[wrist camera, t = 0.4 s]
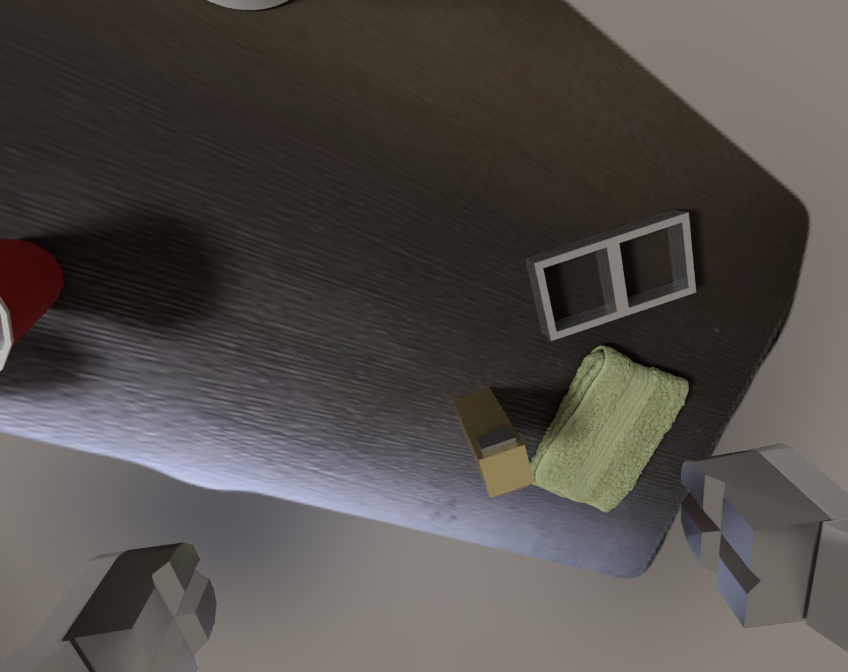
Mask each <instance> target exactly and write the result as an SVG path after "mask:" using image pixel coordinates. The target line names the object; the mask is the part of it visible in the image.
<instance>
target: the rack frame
mask: <svg viewBox="0 0 848 672" xmlns="http://www.w3.org/2000/svg"><path fill="white" fill-rule="evenodd" d="M666 227H667V232H668V241H669V250H670V259H671V268H672V277H673V282H671V283H668V284H665V285H662V286H659V287H656V288H653V289H650V290H647V291H644V292H641V293H638V294H635V295H632V296H629V297H627V292H626V286H625V279H624V272H623V266H622V259H621V252H620V245H619V243H621V242H624V241H627V240H630V239H633V238H636V237H639V236H642V235H645V234H648V233H651V232H654V231H657V230H660V229H663V228H666ZM594 251H596V256H597V262H598V268H599V274H600V280H601V286H602V292H603V298H604V304H605V305H602V306H599V307H596V308H593V309H590V310H587V311H584V312H581V313H578V314H575V315H572V316H569V317H566V318H563V319H560V320H557V321H554V318H553V313H552V308H551V303H550V299H549V294H548V289H547V284H546V280H545V275H544V270H543V268H545V267H548V266H551V265H554V264H557V263H561V262H564V261H567V260H570V259H573V258H576V257H579V256H582V255H585V254H588V253H591V252H594ZM525 260H526V264H527V269H528V273H529V278H530V282H531V287H532V291H533V296H534V300H535V305H536V309H537V314H538V318H539V323H540V327H541V332H542V333H543V334H544V335H545V336H546V337H547V338H548V339H549V340H551V341H552V340H555V339H558V338H561V337H564V336H567V335H570V334H573V333H576V332H579V331H582V330H585V329H588V328H591V327H594V326H597V325H600V324H603V323H606V322H609V321H612V320H615V319H618V318H621V317H624V316H627V315H630V314H633V313H636V312H639V311H642V310H645V309H648V308H651V307H654V306H657V305H660V304H663V303H666V302H669V301H672V300H675V299H678V298H681V297H684V296H686V295H689V294H692V293H695V292H696V285H695V275H694V264H693V253H692V243H691V232H690V222H689V212H683V211H678V210H669V211H666V212H663V213H660V214H657V215H654V216H651V217H648V218H645V219H642V220H639V221H636V222H633V223H630V224H627V225H624V226H621V227H618V228H615V229H612V230H609V231H606V232H602V233H599V234H596V235H593V236H590V237H587V238H584V239H581V240H578V241H575V242H572V243H569V244H566V245H563V246H560V247H557V248H554V249H551V250H548V251H545V252H542V253H539V254H536V255H533V256H530V257H527V258H525Z"/></svg>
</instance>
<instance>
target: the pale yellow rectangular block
mask: <svg viewBox="0 0 848 672" xmlns="http://www.w3.org/2000/svg"><path fill="white" fill-rule="evenodd" d="M453 403H454V406H455V409H456V412H457V416H458V419H459V422H460V425H461V428H462V432H463V434H464V436H465V439H466V441H467V444H468V446H469V448H470V451H471V453H472V456H473V458H474V460H475V463H476V465H477V468H478V470H479V472H480V475H481V477H482V480H483V482H484V484H485V487H486V489H487V492H488V494H489V496H490V498H491V497H494V496H495V497H499V496H502V495H505V494H508V493H511V492H514V491H517V490H520V489H523V488H525V487H528V485H529V484H532V483H534V480H533V476H532V472H531V468H530V464H529V460H528V457H527V453H526V449H525V445H524V443H523V442H522V440H521V438H520V437H519V435H518V433H517V432H516V430H515V429H514V427H513V425H512V424H511V422H510V420H509V419H508V417H507V415H506V414H505V412H504V410H503V409H502V407H501V406H500V404H499V402H498V401H497V399H496V397H495V396H494V394H493V392H492V391H491V389H490V388H486V389H483V390H480V391H477V392H474V393H471V394H468V395H465V396H462V397H459V398H456V399H453Z"/></svg>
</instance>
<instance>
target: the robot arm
mask: <svg viewBox="0 0 848 672" xmlns="http://www.w3.org/2000/svg"><path fill="white" fill-rule="evenodd" d="M208 1H210V2H213V3H215V4H218V5H221V6H224V7H229V8H233V9H241V10H258V9H265V8H270V7H274V6H277V5H279V4H282V3H284V2H286V1H288V0H208ZM681 482H682V483H683V484H684V486H685V487H686V488H687V490H688V491H689V493H688V495H687V496H686V497H685V499H684V500H683V501H682V502H681V522H682V526H683V529H684V533H685V537H686V539H687V541H688V544H689V546H690V548H691V550H692V552H693V553H694V555H695V556H696V558H697V559H698V561H699V562H700V564H701V565H703V566H705V567H707V568H708V569H710V570H712V571H714V572H716V573H717V574H718V577H717V589H718V591H719V592H720V594H721V595H722V597H723V598H724V599H725V601H726V602H727V604H728V605H729V607H730V608H731V610H732V611H733V612H734V614H735V616H736V617H737V618H738V620H739V621H740V623H741V624H742V626H743V627H744V628H749V627H757V626H765V625H774V624H782V623H790V622H798V621H806V624H807V625H808V626H810V627H811V628H813V629H814V630H815V631H817V632H819V633H820V634H821V635H823V636H824V637H826V638H827V639H829V640H830V641H832V642H833V643H835V644H836V645H838V646H839V647H841V648H842V649H844V650H845V651H847V652H848V493H847V492H846V491H845V490H843V489H842V488H841V487H840V486H839V485H837V484H836V483H835V482H834V481H833V480H831V479H830V478H829V477H828V476H826V475H825V474H824V473H823V472H822V471H820V470H819V469H818V468H817V467H815V466H814V465H813V464H812V463H811V462H809V461H808V460H807V459H806V458H805V457H803V456H802V455H801V454H800V453H798V452H797V451H796V450H795V449H794V448H792V447H791V446H788V445H785V444H782V443H781V444H776V445H770V446H765V447H760V448H754V449H749V450H748V451H740V452H735V453H729V454H723V455H718V456H711V457H705V458H699V459H693V460H688V461H685V463H684V465H683V467H682V477H681ZM199 561H200V558H199V556H198V554H197V552H196V550H195V548H194V547H193V545H192V544H188V543H177V544H170V545H162V546H155V547H147V548H141V549H133V550H127V551H123V552H115V553H108V554H101V555H98V556H96V557H94V558H93V559H91V560H89V561H88V562H87V563H86V565H85V566H84V567H83V569H82V570H81V571H80V573H79V574H78V575H77V577H76V578H75V580H74V581H73V582H72V583H71V585H70V586H69V588H68V589H67V590H66V592H65V593H64V595H63V596H62V597H61V598H60V600H59V601H58V602H57V604H56V605H55V606H54V608H53V609H52V611H51V612H50V613H49V615H48V616H47V617H46V619H45V620H44V622H43V623H42V624H41V625H40V627H39V628H38V629H37V631H36V632H35V634H34V635H33V636H32V638H31V639H30V640H29V642H28V643H27V644H26V646H25V647H24V648H19V649H14V650H12V651H11V652H10V653H9V654H7V655H6V656H4V657H3V658H2V659H0V672H196V671H197V664H196V661H195V658H194V655H195V654H196V653H197V652H198V651H199V649H200V648H201V647H202V646H203V645H204V644H205V643H206V642H207V641H208V640H209V637H210V634H211V631H212V629H213V626H214V623H215V614H216V598H215V592H214V588H213V586H212V584H211V582H210V579H209V578H207V577H205V576H204V575H202V574H201V573H199V572H197V571H196V568H197V566H198V563H199Z"/></svg>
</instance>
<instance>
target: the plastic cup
mask: <svg viewBox="0 0 848 672" xmlns="http://www.w3.org/2000/svg"><path fill="white" fill-rule="evenodd" d="M63 285H64V284H63V272H62V270H61V268H60V266H59V264H58V262H57V260H56V259H55V258H54V257H53V256H52V255H51V254H50V253H49V252H47V251H46V250H45V249H44V248H42V247H39V246H37V245H35V244H33V243H31V242H27V241H20V240H12V239H0V371H1V370H2V369H3V368H4V366H5V363H6V361H7V358H8V355H9V353H10V351H11V348H12V347H13V346H14V345H15V344H16V343H17V340H18V339H19V338H20V337H21V336H22V335H23V334H24V333H25V332H26V331H27V330H28V329H29V328H30V327H31V326H32V325H33V324H34V323H35V322H36V321H37V320H38V319H39V318H40V317H41V316H42V315H43V314H44V313H45V312H46V310H47V309H48V308H49V307H50V306H51V305H52V304H53V303H54V302H55V301H56V300H57V299H58V296H59V294H60V292H61V290H62V288H63Z"/></svg>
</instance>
